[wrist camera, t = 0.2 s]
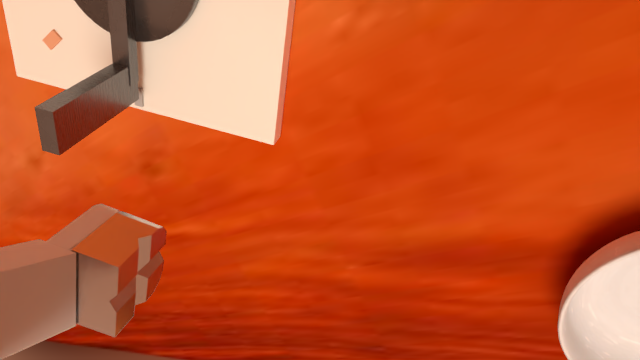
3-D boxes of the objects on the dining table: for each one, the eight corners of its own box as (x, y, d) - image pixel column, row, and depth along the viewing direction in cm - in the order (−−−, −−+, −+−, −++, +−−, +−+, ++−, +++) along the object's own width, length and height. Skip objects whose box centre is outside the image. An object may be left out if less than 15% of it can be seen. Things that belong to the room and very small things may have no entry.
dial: (50, -144, 44) (-92, -142, 33) (204, -114, 42) (105, -101, 31) (78, 76, 55) (-22, 131, 45) (200, 109, 53) (127, 174, 43)
